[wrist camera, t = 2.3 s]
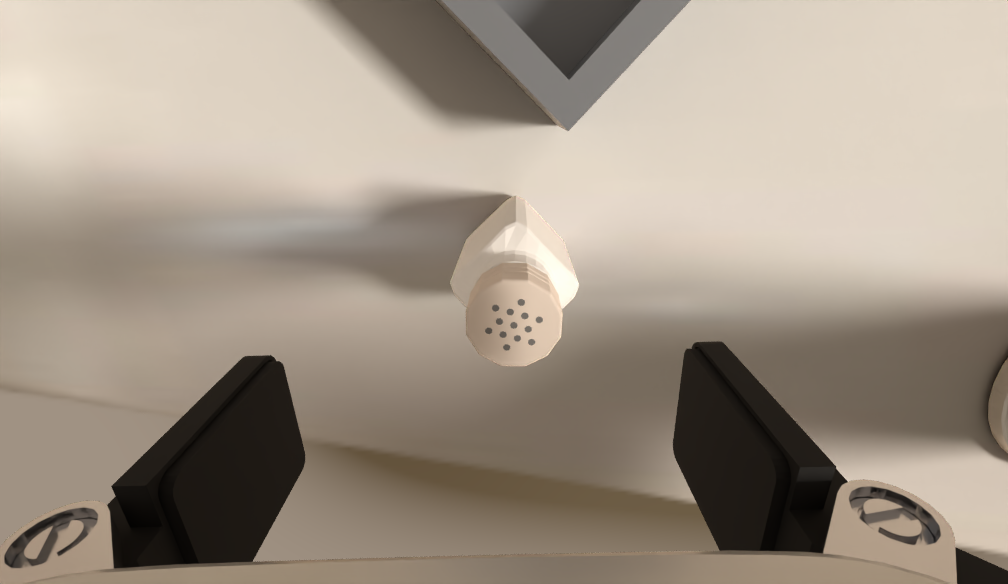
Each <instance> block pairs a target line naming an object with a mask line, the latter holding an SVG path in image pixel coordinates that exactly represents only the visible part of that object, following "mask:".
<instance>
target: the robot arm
mask: <svg viewBox="0 0 1008 584" xmlns="http://www.w3.org/2000/svg"><path fill="white" fill-rule="evenodd" d="M988 420H989V424H990V428H991V431H992V434H993V436H994V438H995V439H996V441H997V442H998V444H999V446H1000V447H1001V448H1002V449H1003V450H1005V451H1006V452H1007V453H1008V358H1007V360H1006V361H1005V362H1004V364H1003V365H1002V367H1001V369H1000V371H999V373H998V375H997V377H996V379H995V381H994V383H993V387H992V391H991V395H990V398H989V404H988ZM673 450H674V455H675V458H676V461H677V463H678V465H679V467H680V469H681V471H682V473H683V475H684V477H685V479H686V482H687V484H688V486H689V488H690V490H691V492H692V494H693V496H694V498H695V500H696V502H697V504H698V506H699V509H700V511H701V513H702V515H703V517H704V519H705V521H706V523H707V525H708V527H709V529H710V531H711V533H712V536H713V538H714V540H715V541H716V544H717V546H718V548H719V550H720V551H664V552H611V553H560V554H517V555H516V554H514V555H474V556H433V557H395V558H360V559H328V560H299V561H298V560H295V561H265V562H252V561H253V559H254V557H255V556H256V554H257V552H258V550H259V548H260V547H261V545H262V543H263V541H264V539H265V537H266V536H267V534H268V532H269V530H270V528H271V527H272V525H273V523H274V521H275V519H276V517H277V516H278V514H279V512H280V510H281V508H282V506H283V504H284V503H285V501H286V499H287V497H288V495H289V494H290V492H291V490H292V488H293V486H294V484H295V482H296V481H297V479H298V477H299V475H300V474H301V472H302V469H303V467H304V463H305V451H304V447H303V443H302V439H301V435H300V431H299V427H298V423H297V419H296V415H295V411H294V407H293V402H292V398H291V394H290V390H289V386H288V382H287V378H286V374H285V370H284V366H283V364H282V363H281V362H280V361H276V360H275V358H274V357H273V356H271V355H270V356H245V357H243V358H242V359H241V360H240V361H239V362H238V363H237V364H236V365H235V366H234V367H233V368H232V369H231V370H230V371H229V372H228V373H227V374H226V375H225V376H224V377H223V378H222V379H220V380H219V381H218V382H217V383H216V384H215V385H214V386H213V387H212V388H211V389H210V390H209V391H208V392H207V393H206V394H205V395H204V396H203V397H202V398H201V399H200V400H199V401H198V402H197V403H196V404H195V405H194V406H193V407H192V408H191V409H190V410H189V411H188V412H187V413H186V414H185V415H184V416H183V417H182V418H181V419H180V420H179V421H178V422H177V423H176V424H175V425H174V426H172V428H170V430H169V431H167V433H165V434H164V435H163V436H162V437H161V438H160V439H159V440H158V441H157V442H156V443H155V444H154V445H153V446H152V447H151V448H150V449H149V450H148V451H147V452H146V453H145V454H144V455H143V456H142V457H141V458H140V459H139V460H138V461H137V462H136V463H135V464H134V465H133V466H132V467H131V468H130V469H129V470H128V471H127V472H126V473H125V474H124V475H123V476H121V477H120V478H119V479H118V480H117V481H116V482H115V483H114V484H113V485H112V489H113V491H114V493H115V496H116V497H115V498H114V499H113V500H112V501H111V502H110V503H109V504H108V505H106V504H104V503H102V502H100V501H82V502H77V503H71V504H69V505H65V506H63V507H60V508H57V509H54V510H52V511H50V512H48V513H46V514H44V515H41V516H39V517H37V518H36V519H34V520H32V521H31V522H29V523H28V524H26V525H25V526H23V527H21V528H20V529H19V530H17V531H16V532H15V533H14V534H12V535H11V536H10V537H9V538H8V539H6V540H5V541H4V543H3V544H2V545H1V546H0V584H1008V571H1007V570H1004V569H1002V568H1000V567H998V566H996V565H994V564H991V563H989V562H987V561H984V560H982V559H980V558H978V557H976V556H973V555H971V554H969V553H967V552H965V551H962V550H960V549H958V548H956V547H955V537H954V534H953V531H952V528H951V526H950V525H949V524H948V522H947V521H946V520H945V518H944V517H943V516H942V515H941V514H940V513H939V512H938V511H936V510H935V509H934V508H933V507H932V506H931V505H929V504H928V503H926V502H925V501H923V500H922V499H920V498H918V497H917V496H915V495H913V494H912V493H909V492H907V491H905V490H903V489H900V488H898V487H896V486H893V485H889V484H886V483H882V482H879V481H872V480H864V479H863V480H853V481H849V482H848V481H847V480H846V479H845V478H844V477H843V476H842V475H841V474H840V473H839V472H838V470H837V469H836V466H835V465H834V464H833V463H832V461H831V460H830V459H829V458H828V457H827V456H826V455H825V454H824V453H823V452H822V451H821V449H820V448H819V447H818V446H817V445H816V444H815V443H814V442H813V441H812V440H811V438H810V437H809V436H808V435H807V434H806V433H805V432H804V431H803V430H802V429H801V427H800V426H799V425H798V424H797V423H796V422H795V421H794V420H793V419H792V418H791V417H790V415H789V414H788V413H787V412H786V411H785V410H784V409H783V408H782V407H781V406H780V404H779V403H778V402H777V401H776V400H775V399H774V398H773V397H772V396H771V395H770V393H769V392H768V391H767V390H766V389H765V388H764V387H763V386H762V385H761V384H760V383H759V381H758V380H757V379H756V378H755V377H754V376H753V375H752V374H751V373H750V372H749V370H748V369H747V368H746V367H745V366H744V365H743V364H742V363H741V362H740V361H739V359H738V358H737V357H736V356H735V355H734V354H733V353H732V352H731V351H730V350H729V349H728V347H727V346H726V345H725V344H724V343H722V342H695V343H694V344H693V346H692V349H686V351H685V353H684V360H683V368H682V376H681V384H680V392H679V400H678V407H677V415H676V423H675V431H674V439H673Z"/></svg>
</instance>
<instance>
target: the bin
mask: <svg viewBox="0 0 1008 584" xmlns="http://www.w3.org/2000/svg"><path fill="white" fill-rule="evenodd" d="M436 1H437V2H438V3H439V4H440V5H441V6H442V7H443V8H444V9H445V11H446V12H447V13H448V14H449V15H450V16H451V17H452V18H453V19H454V20H455V21H456V22H457V23H458V24H459V25H460V26H461V27H462V28H463V29H464V30H465V31H466V32H467V33H468V34H469V35H470V36H471V37H472V38H473V39H474V40H475V41H476V42H477V43H478V44H479V45H480V47H481V48H482V49H483V50H484V51H485V52H486V53H487V54H488V55H489V56H490V57H491V58H492V59H493V60H494V61H495V62H496V63H497V64H498V65H499V66H500V67H501V68H502V69H503V70H504V71H505V72H506V73H507V74H508V75H509V76H510V77H511V78H512V79H513V80H514V81H515V83H516V84H517V85H518V86H519V87H520V88H521V89H522V90H523V91H524V92H525V93H526V94H527V95H528V96H529V97H530V98H531V99H532V100H533V101H534V102H535V103H536V104H537V105H538V106H539V107H540V108H541V109H542V110H543V111H544V112H545V113H546V114H547V115H548V116H549V117H550V119H551V120H552V121H553V122H554V123H555V124H556V125H557V126H559V127H561V128H563V129H565V130H567V131H569V130H570V129H571V128H572V127H573V126H574V125H575V123H576V122H577V121H578V120H579V119H580V118H581V117H582V116H583V115H584V114H585V113H586V112H587V111H588V110H589V108H590V107H591V106H592V105H593V104H594V103H595V102H596V101H597V100H598V99H599V98H600V97H601V96H602V95H603V93H604V92H605V91H606V90H607V89H608V88H609V87H610V86H611V85H612V84H613V83H614V82H615V81H616V80H617V79H618V77H619V76H620V75H621V74H622V73H623V72H624V71H625V70H626V69H627V68H628V67H629V66H630V65H631V64H632V62H633V61H634V60H635V59H636V58H637V57H638V56H639V55H640V54H641V53H642V52H643V51H644V50H645V49H646V48H647V46H648V45H649V44H650V43H651V42H652V41H653V40H654V39H655V38H656V37H657V36H658V35H659V34H660V33H661V31H662V30H663V29H664V28H665V27H666V26H667V25H668V24H669V23H670V22H671V21H672V20H673V19H674V18H675V16H676V15H677V14H678V13H679V12H680V11H681V10H682V9H683V8H684V7H685V6H686V5H687V4H688V3H689V2H690V0H436Z"/></svg>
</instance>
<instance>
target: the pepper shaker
mask: <svg viewBox="0 0 1008 584" xmlns="http://www.w3.org/2000/svg"><path fill="white" fill-rule="evenodd" d="M450 285H451V287H452V290H453V293H454V295H455V296H456V297H457V298H458V299H459V300H460V301H461V302H462V304H463V305H464V306H465V307H466V308H467V309H466V335H467V337H468V338H469V340H470V341H471V343H472V344H473V346H474V347H475V349H476V350H477V352H478V353H479V355H481V356H483V357H485V358H487V359H489V360H491V361H493V362H494V363H496V364H498V365H500V366H527V365H529V364H531V363H533V362H536V361H538V360H540V359H542V358H544V357H546V356H548V354H549V353H550V352H551V350H552V349H553V347H554V346H555V345H556V343H557V342H558V340H559V339H560V338H561V331H562V316H563V313H562V309H563V308H564V307H565V306H566V305H567V304H568V303H569V302H570V301H571V300H572V299H573V298H574V297H575V294H576V292H577V290H578V287H579V283H578V280H577V277H576V274H575V271H574V269H573V266H572V263H571V260H570V257H569V254H568V251H567V248H566V246H565V243H564V240H563V239H562V238H561V237H560V236H559V235H558V234H557V233H556V232H555V231H554V230H553V229H552V228H551V227H550V225H549V224H548V223H547V222H546V221H545V220H544V219H543V218H542V217H541V216H540V215H539V214H538V213H537V212H536V211H535V210H534V209H533V208H532V207H531V205H530V204H529V203H528V202H527V201H526V200H525V199H522V198H520V197H518V196H514V197H511V198H509V199H507V200H506V201H505V202H504V203H503V204H502V205H501V206H500V207H499V208H498V209H497V210H495V211H494V212H493V213H492V214H491V215H490V216H489V217H488V218H487V219H486V220H485V221H484V222H483V223H482V224H481V225H480V226H479V227H478V228H477V229H476V230H475V231H474V232H473V233H472V234H471V235H470V236H469V237H468V238H467V239H466V241H465V244H464V246H463V249H462V251H461V254H460V257H459V259H458V262H457V265H456V267H455V270H454V273H453V275H452V278H451V281H450Z"/></svg>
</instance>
